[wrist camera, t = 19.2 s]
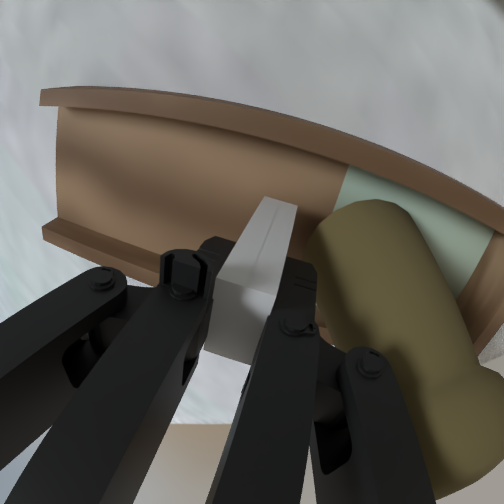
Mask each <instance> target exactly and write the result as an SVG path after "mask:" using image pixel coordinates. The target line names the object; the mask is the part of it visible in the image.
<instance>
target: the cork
mask: <svg viewBox="0 0 504 504" xmlns="http://www.w3.org/2000/svg"><path fill="white" fill-rule="evenodd" d="M302 261H304V262H308V263H311V264H313V266H314V268H315V270H316V272H317V273H318V274H317V291H316V292H317V293H316V304H317V306H318V308H319V310H320V313H321V315H322V317H323V320H324V322H325V324H326V327H327V329H328V331H329V334H330V336H331V338H332V341H333V343H334V345H335V347H336V348H337V349H339V350H341V351H343V352H345V353H347V352H348V351H349V350H351V349H353V348H354V347H361V346H364V347H368V348H372V349H374V350H376V351H378V352H380V353H381V354H382V355H383V356H384V357H385V358H386V359H387V360H388V362H389V363H390V365H391V367H392V369H393V372H394V374H395V377H396V380H397V382H398V385H399V387H400V390H401V393H402V395H403V398H404V401H405V404H406V406H407V409H408V412H409V415H410V418H411V421H412V423H413V426H414V429H415V432H416V435H417V439H418V442H419V445H420V448H421V451H422V454H423V458H424V461H425V464H426V468H427V471H428V475H429V478H430V482H431V486H432V489H433V493H434V497H435V501H436V500H438V499H441V498H443V497H445V496H448V495H449V494H452V493H455V492H456V491H459V490H461V489H463V488H465V487H467V486H469V485H471V484H473V483H474V482H476V481H478V480H479V479H481V478H482V477H483V476H485V475H486V474H487V473H489V472H490V471H491V470H492V469H494V468H495V467H496V466H497V465H498V464H499V463H500V462H501V461H502V460H503V459H504V378H503V377H502V376H501V375H500V374H499V373H498V372H495V371H493V370H491V369H488V368H486V367H483V366H481V365H480V364H479V361H478V358H477V355H476V352H475V349H474V346H473V343H472V341H471V338H470V335H469V333H468V330H467V328H466V325H465V323H464V320H463V318H462V315H461V313H460V310H459V308H458V306H457V304H456V301H455V299H454V297H453V295H452V292H451V290H450V288H449V286H448V284H447V282H446V280H445V278H444V275H443V273H442V271H441V269H440V267H439V265H438V263H437V262H436V260H435V258H434V256H433V254H432V252H431V250H430V248H429V246H428V245H427V243H426V241H425V239H424V237H423V236H422V234H421V232H420V230H419V229H418V227H417V225H416V223H415V222H414V220H413V219H412V217H411V215H410V214H409V212H407V211H406V210H404V209H403V208H402V207H400V206H399V205H397V204H396V203H393V202H389V201H384V200H380V199H371V200H362V201H356V202H353V203H351V204H349V205H346V206H344V207H342V208H339V209H337V210H335V211H334V212H333V213H332V214H331V215H329V216H328V217H327V218H326V219H324V220H323V221H322V222H321V223H320V224H319V225H318V226H317V228H316V229H315V231H314V232H313V233H312V235H311V236H310V238H309V239H308V241H307V244H306V247H305V251H304V254H303V258H302Z"/></svg>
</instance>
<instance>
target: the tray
mask: <svg viewBox="0 0 504 504" xmlns="http://www.w3.org/2000/svg"><path fill="white" fill-rule="evenodd" d="M39 106H59V108H58V120H57V137H56V194H57V211H58V217H57V218H55V219H54V220H52V221H50V222H49V223H47V224H45V225H44V226H42V233H43V240H45V241H47V242H49V243H51V244H54V245H56V246H58V247H60V248H62V249H64V250H67V251H69V252H71V253H73V254H76V255H78V256H80V257H82V258H85V259H87V260H89V261H92V262H94V263H96V264H99V265H101V266H106V267H113V268H115V269H118V270H120V271H121V272H122V273H123V274H124V275H125V276H128V277H130V278H133V279H135V280H138V281H140V282H143V283H145V284H148V285H150V286H153V287H156V286H157V285H158V284H159V274H160V256H161V255H162V254H164V253H165V252H167V251H170V250H174V249H189V250H194V251H197V250H198V249H199V247H200V246H201V245H202V243H203V242H204V241H205V240H207V239H209V238H211V237H214V236H218V237H221V238H225V239H228V240H231V241H235V242H237V241H238V239H239V238H240V236H241V234H242V233H243V231H244V229H245V228H246V226H247V224H248V223H249V221H250V219H251V217H252V216H253V214H254V212H255V211H256V209H257V207H258V206H259V204H260V202H261V201H262V199H263V197H264V196H266V197H270V198H273V199H277V200H280V201H283V202H287V203H290V204H294V205H297V206H298V207H297V211H296V216H295V220H294V225H293V229H292V233H291V238H290V242H289V246H288V250H287V255H286V256H288V257H291V258H294V259H298V260H301V261H302V258H303V254H304V251H305V247H306V244H307V241H308V239H309V238H310V236H311V235H312V233H313V232H314V231H315V229H316V228H317V226H318V225H319V224H320V223H321V222H322V221H323V220H324V219H326V218H327V217H328V216H329V215H331V214H332V213H333V212H334V211H335V210H337V209H339V208H342V207H344V206H346V205H349V204H351V203H353V202H356V201H362V200H371V199H380V200H384V201H389V202H393V203H396V204H397V205H399V206H400V207H402V208H403V209H404V210H406V211H407V212H409V214H410V215H411V217H412V219H413V220H414V222H415V223H416V225H417V227H418V229H419V230H420V232H421V234H422V236H423V237H424V239H425V241H426V243H427V245H428V246H429V248H430V250H431V252H432V254H433V256H434V258H435V260H436V262H437V263H438V265H439V267H440V269H441V271H442V273H443V275H444V278H445V280H446V282H447V284H448V286H449V288H450V290H451V292H452V295H453V297H454V299H455V301H456V304H457V306H458V308H459V310H460V313H461V315H462V318H463V320H464V323H465V325H466V328H467V330H468V333H469V335H470V338H471V341H472V343H473V346H474V349H475V352H476V355H477V356H478V355H479V354H480V353H481V351H482V350H483V349H484V348H485V346H486V345H487V344H488V343H489V341H490V340H491V339H492V337H493V336H494V335H495V334H496V332H497V331H498V329H499V328H500V327H501V325H502V324H503V323H504V207H502V206H501V205H499V204H497V203H496V202H494V201H492V200H491V199H489V198H487V197H486V196H484V195H482V194H481V193H479V192H477V191H475V190H473V189H472V188H470V187H468V186H466V185H464V184H462V183H461V182H459V181H457V180H455V179H453V178H451V177H449V176H447V175H445V174H443V173H441V172H439V171H437V170H435V169H433V168H431V167H429V166H427V165H424V164H422V163H420V162H418V161H416V160H413V159H411V158H409V157H407V156H404V155H402V154H400V153H397V152H395V151H392V150H390V149H388V148H385V147H383V146H380V145H377V144H375V143H372V142H370V141H367V140H364V139H362V138H359V137H356V136H353V135H351V134H348V133H345V132H342V131H339V130H336V129H333V128H330V127H327V126H324V125H320V124H317V123H314V122H310V121H307V120H304V119H300V118H297V117H293V116H289V115H286V114H282V113H278V112H274V111H270V110H266V109H262V108H258V107H253V106H249V105H244V104H239V103H235V102H230V101H224V100H219V99H214V98H208V97H202V96H196V95H189V94H182V93H174V92H166V91H157V90H148V89H136V88H122V87H100V86H72V87H60V88H50V89H41V94H40V104H39ZM315 322H316V324H317V325H318V326H319V331H320V336H321V337H322V338H323V339H324V340H325V341H326V342H327V343H329V344H331V345H334V343H333V341H332V338H331V336H330V334H329V331H328V329H327V327H326V324H325V322H324V320H323V317H322V315H321V313H320V310H319V308H318V306H317V304H316V309H315Z"/></svg>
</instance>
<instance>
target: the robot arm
mask: <svg viewBox="0 0 504 504" xmlns="http://www.w3.org/2000/svg"><path fill="white" fill-rule="evenodd" d="M297 207H298V206H297V205H294V204H290V203H287V202H283V201H280V200H277V199H273V198H270V197H266V196H264V197H263V199H262V201H261V202H260V204H259V206H258V207H257V209H256V211H255V212H254V214H253V216H252V217H251V219H250V221H249V223H248V224H247V226H246V228H245V229H244V231H243V233H242V234H241V236H240V238H239V239H238V241H237V242H235V241H231V240H228V239H225V238H221V237H218V236H214V237H211V238H209V239H207V240H205V241H204V242H203V243H202V245H201V246H200V247H199V249H198V250H197V251H194V250H189V249H174V250H170V251H167V252H165V253H164V254H162V255H161V256H160V274H159V284H158V285H157V286H156V287H152V288H151V287H139V286H131V285H127V280H126V276H125V275H124V274H123V273H122V272H121V271H120V270H118V269H115V268H113V267H106V266H102V267H95V268H92V269H89V270H87V271H85V272H83V273H82V274H80V275H78V276H76V277H75V278H73V279H71V280H70V281H68V282H66V283H64V284H63V285H61V286H59V287H58V288H56V289H54V290H53V291H51V292H49V293H48V294H46V295H44V296H43V297H41V298H39V299H38V300H36V301H34V302H33V303H31V304H30V305H28V306H26V307H25V308H23V309H22V310H20V311H19V312H17V313H15V314H14V315H12V316H11V317H9V318H8V319H6V320H5V321H3V322H1V323H0V471H1V470H2V469H3V468H4V467H5V466H6V465H7V464H8V463H10V462H11V461H12V460H13V459H14V458H15V457H17V456H18V455H19V454H20V453H21V452H22V451H23V450H25V449H26V448H27V447H28V446H29V445H30V444H31V443H33V442H34V441H35V440H36V439H37V438H38V437H39V436H40V435H42V434H43V433H44V432H45V431H46V430H47V429H49V428H50V427H51V426H52V427H51V428H50V430H49V432H48V433H47V434H46V436H45V437H44V439H43V440H42V442H41V444H40V445H39V447H38V448H37V450H36V452H35V453H34V455H33V456H32V458H31V459H30V461H29V462H28V464H27V466H26V467H25V469H24V471H23V472H22V474H21V476H20V477H19V479H18V481H17V482H16V484H15V486H14V487H13V489H12V491H11V493H10V494H9V496H8V498H7V500H6V501H5V503H4V504H133V502H134V500H135V498H136V496H137V493H138V491H139V489H140V487H141V485H142V483H143V480H144V478H145V476H146V474H147V472H148V470H149V467H150V465H151V463H152V461H153V459H154V457H155V454H156V452H157V450H158V448H159V446H160V444H161V442H162V439H163V437H164V435H165V433H166V430H167V428H168V426H169V424H170V422H171V420H172V418H173V416H174V413H175V411H176V409H177V407H178V405H179V403H180V401H181V398H182V396H183V394H184V392H185V390H186V388H187V385H188V383H189V381H190V379H191V377H192V375H193V373H194V370H195V368H196V366H197V364H198V359H199V353H200V350H201V348H202V346H203V344H204V342H205V344H204V350H206V351H209V352H211V353H214V354H217V355H220V356H223V357H226V358H229V359H232V360H236V361H239V362H242V363H245V364H248V365H251V367H250V370H249V373H248V376H247V378H246V381H245V384H244V386H243V389H242V391H241V393H242V394H241V397H240V401H239V404H238V407H237V410H236V413H235V416H234V419H233V423H232V426H231V429H230V432H229V435H228V438H227V441H226V444H225V447H224V450H223V453H222V456H221V459H220V462H219V465H218V468H217V471H216V474H215V477H214V480H213V483H212V485H211V488H210V491H209V494H208V497H207V500H206V503H205V504H300V499H301V494H302V488H303V482H304V475H305V469H306V463H307V457H308V449H309V446H310V453H311V460H312V469H313V476H314V485H315V493H316V502H317V504H436V502H435V497H434V493H433V489H432V486H431V482H430V478H429V475H428V471H427V468H426V464H425V461H424V458H423V454H422V451H421V448H420V445H419V442H418V439H417V435H416V432H415V429H414V426H413V423H412V421H411V418H410V415H409V412H408V409H407V406H406V404H405V401H404V398H403V395H402V393H401V390H400V387H399V385H398V382H397V380H396V377H395V374H394V372H393V369H392V367H391V365H390V363H389V362H388V360H387V359H386V358H385V357H384V356H383V355H382V354H381V353H380V352H378V351H376V350H374V349H372V348H368V347H364V346H361V347H354V348H353V349H351V350H349V351H348V352H347V353H345V352H343V351H341V350H339V349H337V348H336V347H334V346H332V345H331V344H329V343H327V342H326V341H325V340H324V339H323V338H322V337H321V336H320V331H319V326H318V325H317V324H316V322H315V309H316V293H317V292H316V291H317V274H318V273H317V272H316V270H315V268H314V266H313V264H311V263H308V262H304V261H301V260H298V259H294V258H291V257H288V256H286V255H287V250H288V246H289V242H290V238H291V233H292V229H293V225H294V220H295V216H296V211H297Z"/></svg>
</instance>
